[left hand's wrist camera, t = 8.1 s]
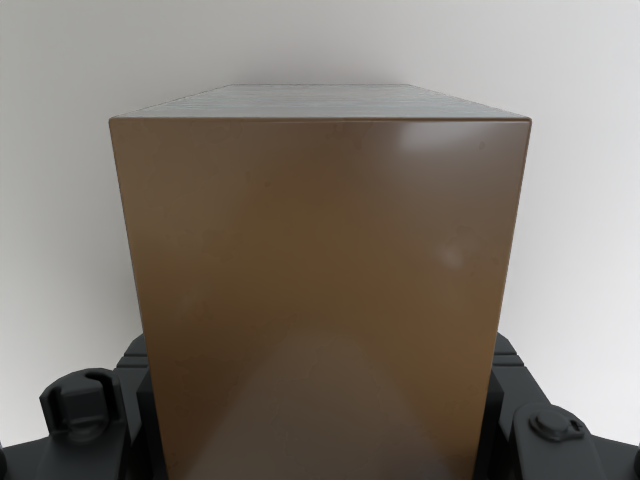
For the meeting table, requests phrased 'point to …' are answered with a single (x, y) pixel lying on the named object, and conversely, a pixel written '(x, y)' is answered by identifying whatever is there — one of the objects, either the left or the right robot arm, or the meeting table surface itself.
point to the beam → (320, 276)
